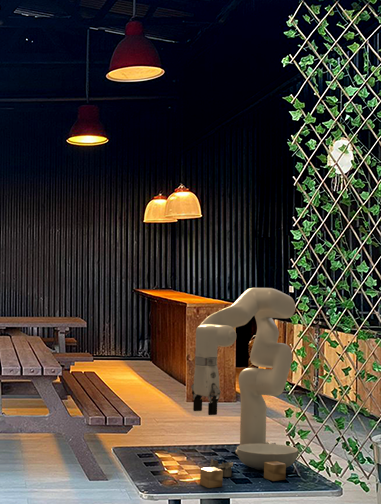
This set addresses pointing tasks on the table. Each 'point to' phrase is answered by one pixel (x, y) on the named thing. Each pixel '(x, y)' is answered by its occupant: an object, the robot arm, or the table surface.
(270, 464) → the maple block
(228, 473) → the tan cratered rock
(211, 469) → the maple block
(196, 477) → the table surface
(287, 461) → the serving bowl
